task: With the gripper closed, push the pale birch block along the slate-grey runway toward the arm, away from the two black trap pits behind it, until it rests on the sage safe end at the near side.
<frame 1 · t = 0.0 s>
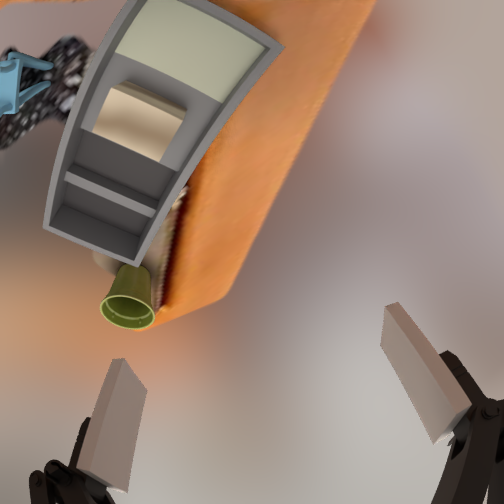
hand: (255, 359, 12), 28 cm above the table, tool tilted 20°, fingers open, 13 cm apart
plant pot: (134, 273, 46), on the table
birch block: (145, 112, 26), point 2 cm above the table, touching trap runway
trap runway: (139, 128, 29), on the table
chair: (29, 75, 20), on the table
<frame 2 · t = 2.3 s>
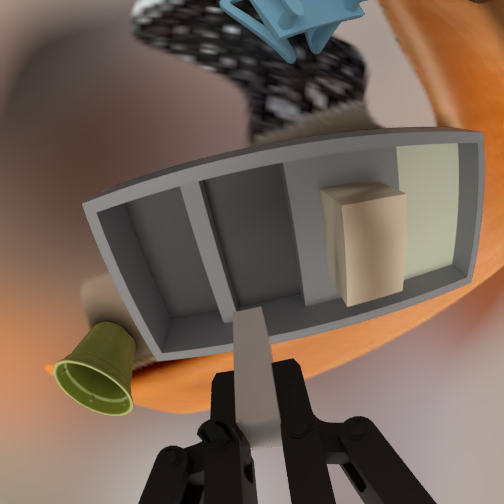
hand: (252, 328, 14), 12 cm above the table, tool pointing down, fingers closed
plant pot: (114, 337, 30), on the table
birch block: (352, 228, 23), point 2 cm above the table, touching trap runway
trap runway: (311, 225, 25), on the table
chair: (281, 22, 17), on the table
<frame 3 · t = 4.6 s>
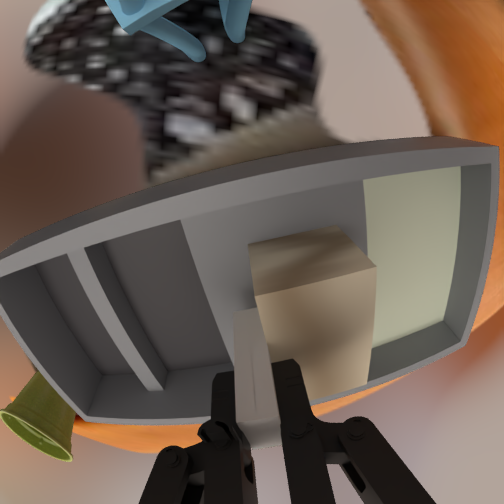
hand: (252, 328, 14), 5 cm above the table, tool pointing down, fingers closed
plant pot: (58, 383, 24), on the table
birch block: (302, 294, 17), point 3 cm above the table
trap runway: (242, 285, 19), on the table
chair: (190, 7, 11), on the table
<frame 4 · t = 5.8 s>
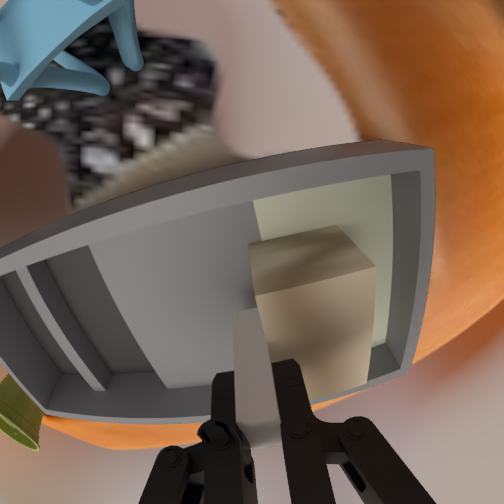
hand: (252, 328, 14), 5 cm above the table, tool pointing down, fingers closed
plant pot: (31, 380, 24), on the table
birch block: (301, 294, 17), point 3 cm above the table, touching gripper
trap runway: (160, 301, 19), on the table
chair: (100, 40, 11), on the table
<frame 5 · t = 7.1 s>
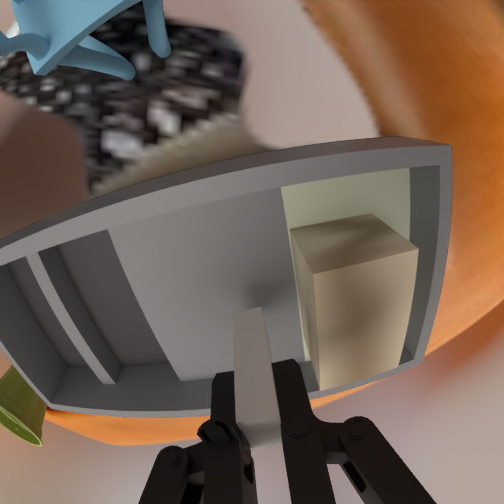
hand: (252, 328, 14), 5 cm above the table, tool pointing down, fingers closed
plant pot: (34, 373, 24), on the table
birch block: (336, 280, 17), point 2 cm above the table, touching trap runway
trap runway: (178, 290, 19), on the table
chair: (125, 25, 11), on the table
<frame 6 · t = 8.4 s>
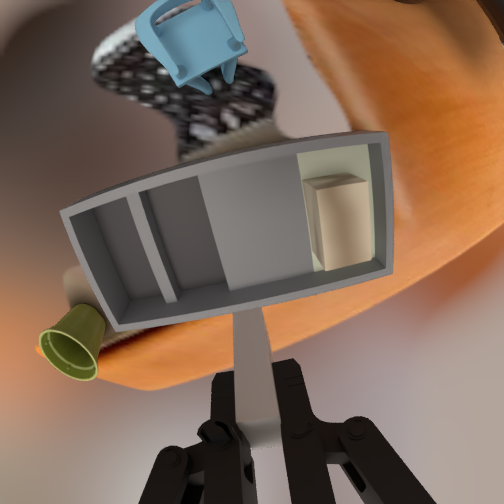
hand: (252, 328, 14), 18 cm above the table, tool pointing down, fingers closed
plant pot: (89, 318, 36), on the table
birch block: (329, 211, 29), point 2 cm above the table, touching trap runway
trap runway: (232, 224, 31), on the table
chair: (202, 59, 23), on the table
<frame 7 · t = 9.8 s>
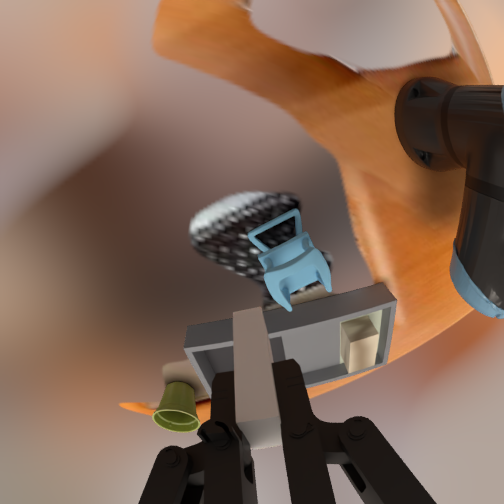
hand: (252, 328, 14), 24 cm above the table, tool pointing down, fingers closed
plant pot: (180, 388, 52), on the table
birch block: (353, 335, 45), point 2 cm above the table, touching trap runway
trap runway: (293, 340, 47), on the table
chair: (283, 243, 40), on the table
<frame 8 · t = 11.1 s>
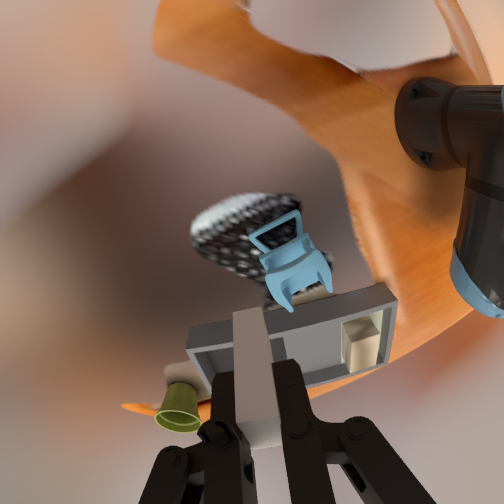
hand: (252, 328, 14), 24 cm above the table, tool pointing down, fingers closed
plant pot: (182, 389, 52), on the table
birch block: (354, 335, 45), point 2 cm above the table, touching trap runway
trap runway: (294, 341, 47), on the table
chair: (284, 244, 40), on the table
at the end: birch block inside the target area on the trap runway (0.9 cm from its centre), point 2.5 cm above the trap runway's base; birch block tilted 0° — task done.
